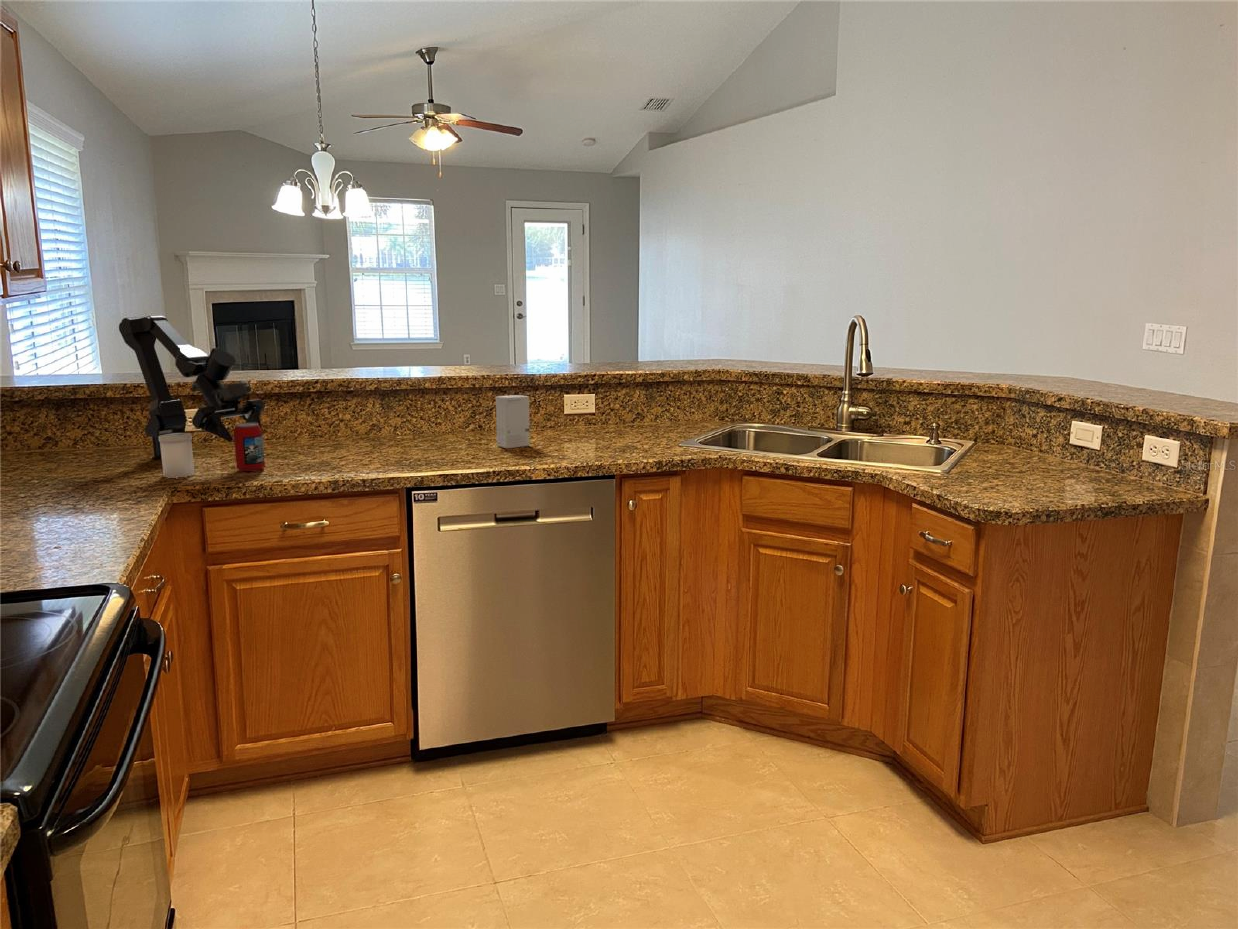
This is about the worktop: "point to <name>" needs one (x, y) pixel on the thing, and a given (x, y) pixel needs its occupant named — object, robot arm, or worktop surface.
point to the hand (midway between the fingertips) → (246, 437)
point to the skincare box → (512, 421)
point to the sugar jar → (176, 455)
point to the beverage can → (248, 446)
